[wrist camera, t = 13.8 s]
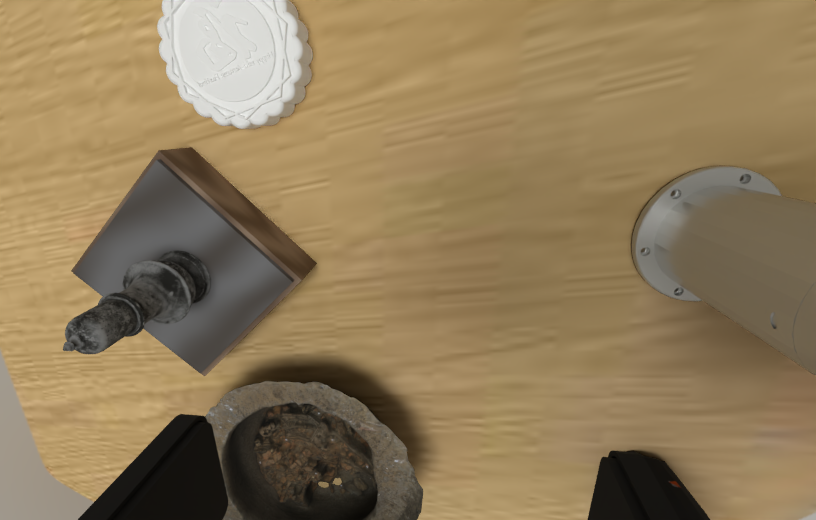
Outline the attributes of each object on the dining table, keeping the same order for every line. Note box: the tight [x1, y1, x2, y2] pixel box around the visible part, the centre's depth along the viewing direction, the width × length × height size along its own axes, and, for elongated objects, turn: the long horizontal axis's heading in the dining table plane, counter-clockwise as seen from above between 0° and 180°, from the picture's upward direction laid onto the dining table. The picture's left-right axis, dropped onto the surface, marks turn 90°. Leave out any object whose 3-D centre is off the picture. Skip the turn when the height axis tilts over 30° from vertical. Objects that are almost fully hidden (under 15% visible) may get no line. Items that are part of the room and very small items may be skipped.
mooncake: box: [157, 0, 313, 129], centre depth 32 cm, size 12×12×4 cm
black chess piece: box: [63, 250, 211, 354], centre depth 30 cm, size 6×6×12 cm
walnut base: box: [72, 148, 317, 376], centre depth 38 cm, size 16×16×5 cm
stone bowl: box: [205, 381, 423, 520], centre depth 43 cm, size 25×25×9 cm
